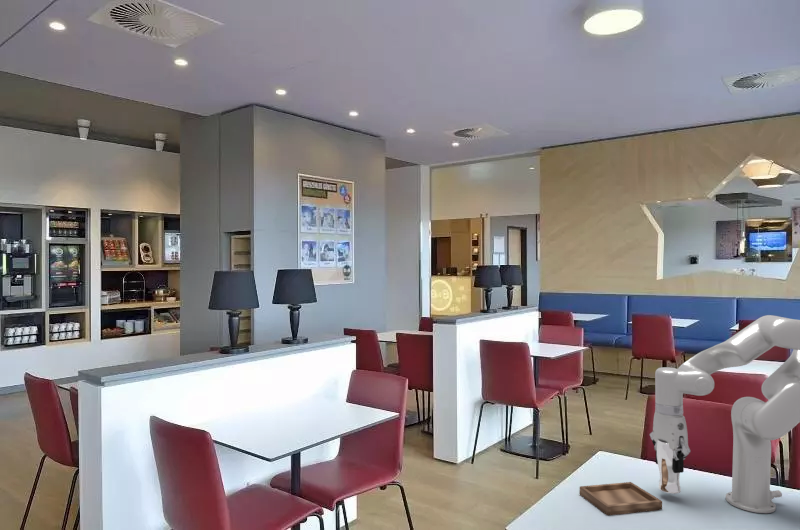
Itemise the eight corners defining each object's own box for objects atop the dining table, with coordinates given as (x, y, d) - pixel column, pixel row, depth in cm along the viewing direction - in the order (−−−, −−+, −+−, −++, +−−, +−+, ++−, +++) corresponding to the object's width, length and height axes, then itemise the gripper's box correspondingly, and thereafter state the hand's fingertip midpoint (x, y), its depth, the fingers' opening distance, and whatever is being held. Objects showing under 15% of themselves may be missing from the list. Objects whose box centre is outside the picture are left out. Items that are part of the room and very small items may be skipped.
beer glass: (659, 483, 172) (659, 435, 172) (684, 488, 168) (683, 439, 168) (654, 490, 167) (654, 441, 167) (680, 496, 163) (679, 445, 163)
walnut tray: (630, 489, 173) (630, 481, 173) (662, 509, 159) (662, 501, 159) (579, 494, 168) (579, 486, 168) (607, 515, 155) (607, 506, 155)
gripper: (701, 416, 160) (701, 477, 160) (659, 401, 177) (659, 456, 177) (679, 418, 158) (679, 480, 158) (639, 402, 175) (639, 459, 175)
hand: (669, 467), depth 167 cm, fingers closed on beer glass, 6 cm apart
